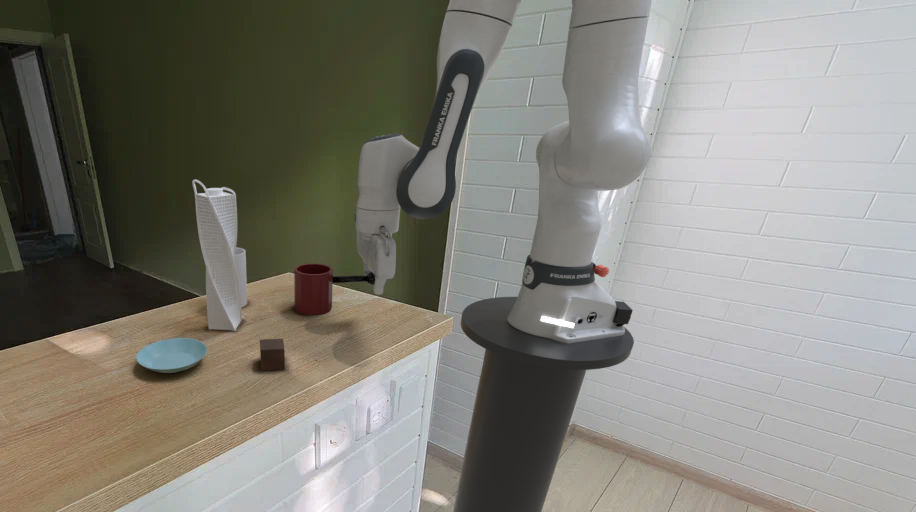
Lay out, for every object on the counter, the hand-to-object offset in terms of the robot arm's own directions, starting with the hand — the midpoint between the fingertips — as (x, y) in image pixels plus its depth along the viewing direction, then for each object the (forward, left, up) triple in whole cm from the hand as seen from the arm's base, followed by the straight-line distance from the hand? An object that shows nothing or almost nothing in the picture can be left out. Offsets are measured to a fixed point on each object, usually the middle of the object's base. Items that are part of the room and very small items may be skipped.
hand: (372, 285), depth 105 cm
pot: (+8, 0, -5) cm, 9 cm away
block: (+23, +25, -5) cm, 34 cm away
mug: (+31, -3, -5) cm, 32 cm away
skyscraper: (+32, +7, -5) cm, 33 cm away
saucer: (+40, +23, -5) cm, 47 cm away
